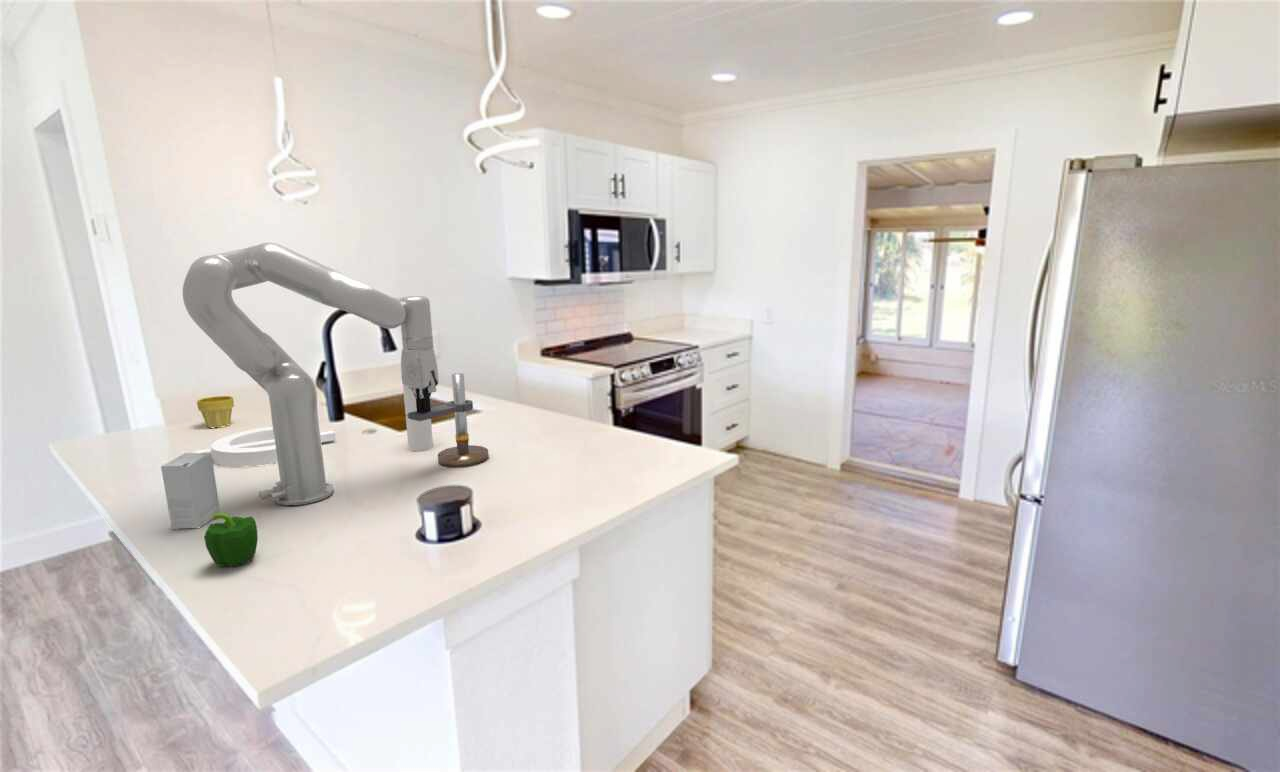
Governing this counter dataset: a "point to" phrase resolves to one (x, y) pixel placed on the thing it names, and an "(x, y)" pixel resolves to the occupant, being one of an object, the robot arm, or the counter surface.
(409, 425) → the cylindrical container
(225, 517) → the bell pepper
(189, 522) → the skincare box
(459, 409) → the collar
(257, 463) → the white circle with bar
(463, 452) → the pipe stand
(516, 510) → the counter surface
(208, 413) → the plant pot
